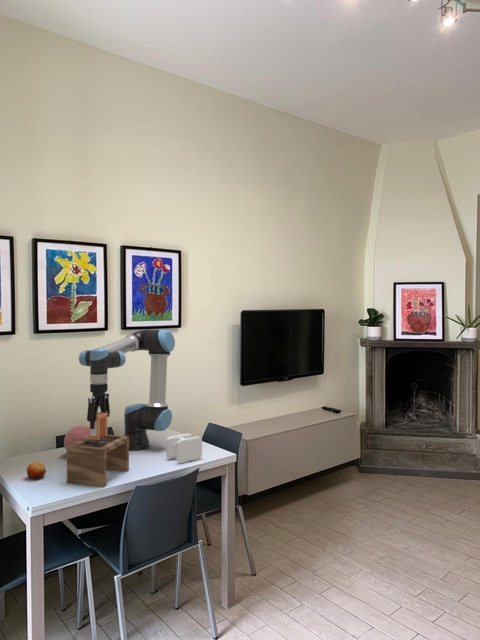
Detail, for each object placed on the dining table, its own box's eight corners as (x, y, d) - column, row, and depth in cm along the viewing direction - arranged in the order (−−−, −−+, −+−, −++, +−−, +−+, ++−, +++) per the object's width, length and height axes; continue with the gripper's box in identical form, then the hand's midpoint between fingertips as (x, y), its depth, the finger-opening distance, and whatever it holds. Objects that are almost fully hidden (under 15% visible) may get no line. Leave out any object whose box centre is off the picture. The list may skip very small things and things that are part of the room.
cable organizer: (176, 465, 230) (176, 441, 230) (165, 459, 239) (165, 436, 238) (202, 459, 240) (202, 436, 240) (190, 454, 248) (190, 432, 248)
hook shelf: (94, 466, 227) (94, 433, 227) (128, 470, 223) (128, 436, 222) (66, 482, 206) (66, 446, 206) (104, 487, 201) (103, 449, 201)
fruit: (26, 471, 216) (35, 456, 216) (41, 480, 216) (50, 465, 217) (19, 478, 208) (29, 462, 208) (35, 487, 208) (44, 471, 209)
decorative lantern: (72, 464, 230) (72, 433, 230) (60, 455, 246) (59, 425, 246) (103, 459, 239) (103, 428, 239) (89, 449, 255) (89, 421, 255)
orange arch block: (89, 439, 210) (89, 415, 210) (99, 434, 218) (99, 412, 218) (97, 439, 209) (97, 416, 209) (107, 435, 217) (107, 412, 217)
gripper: (93, 386, 202) (93, 440, 203) (118, 380, 223) (117, 428, 223) (78, 386, 204) (78, 438, 205) (103, 379, 225) (103, 427, 225)
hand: (98, 433), depth 214 cm, fingers closed on orange arch block, 8 cm apart
